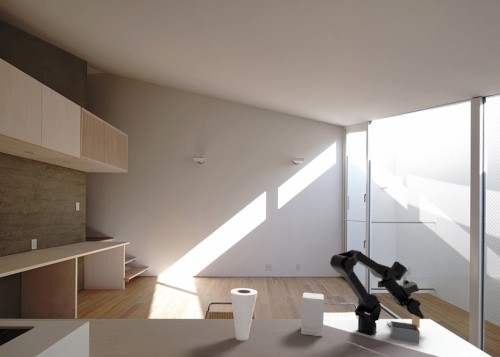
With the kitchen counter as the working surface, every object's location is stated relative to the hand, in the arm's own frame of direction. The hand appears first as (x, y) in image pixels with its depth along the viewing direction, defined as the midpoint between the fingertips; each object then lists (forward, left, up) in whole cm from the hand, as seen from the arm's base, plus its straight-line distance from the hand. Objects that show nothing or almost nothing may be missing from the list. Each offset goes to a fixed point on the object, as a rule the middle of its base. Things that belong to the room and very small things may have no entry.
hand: (418, 314), depth 156 cm
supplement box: (-28, -40, -7) cm, 49 cm away
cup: (-41, -68, -7) cm, 80 cm away
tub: (0, -15, -7) cm, 17 cm away
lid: (-4, -4, -7) cm, 9 cm away
